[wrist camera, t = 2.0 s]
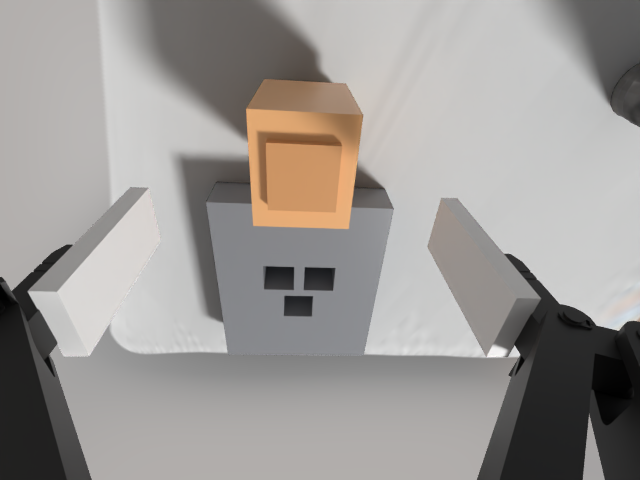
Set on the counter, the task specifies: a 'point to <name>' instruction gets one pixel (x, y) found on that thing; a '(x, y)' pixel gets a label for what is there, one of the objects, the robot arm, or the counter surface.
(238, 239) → the socket
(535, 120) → the counter surface
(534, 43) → the counter surface
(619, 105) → the beverage cup
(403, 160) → the counter surface
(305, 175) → the plug
